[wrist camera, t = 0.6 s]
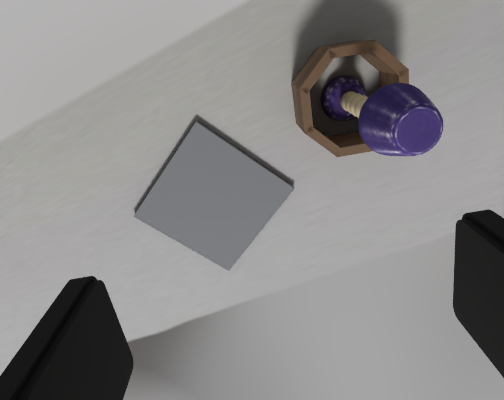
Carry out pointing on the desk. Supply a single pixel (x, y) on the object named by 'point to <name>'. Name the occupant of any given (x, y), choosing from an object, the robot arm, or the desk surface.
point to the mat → (213, 197)
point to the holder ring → (313, 70)
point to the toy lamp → (386, 115)
